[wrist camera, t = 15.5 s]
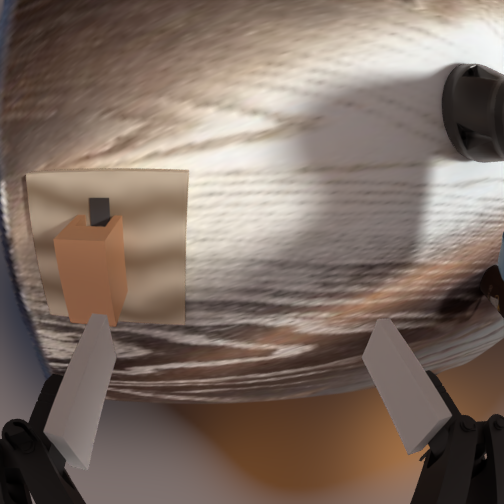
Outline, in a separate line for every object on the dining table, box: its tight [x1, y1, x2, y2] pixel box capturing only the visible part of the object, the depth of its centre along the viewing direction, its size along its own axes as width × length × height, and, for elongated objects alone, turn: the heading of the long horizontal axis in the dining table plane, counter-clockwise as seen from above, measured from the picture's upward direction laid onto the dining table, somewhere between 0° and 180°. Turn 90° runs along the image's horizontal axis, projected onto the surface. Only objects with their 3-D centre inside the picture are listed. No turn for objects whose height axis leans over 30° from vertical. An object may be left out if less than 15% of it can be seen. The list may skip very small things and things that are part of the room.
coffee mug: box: [480, 265, 504, 318], centre depth 45 cm, size 12×9×10 cm
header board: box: [26, 169, 189, 325], centre depth 33 cm, size 20×20×4 cm
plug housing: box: [53, 215, 128, 327], centre depth 31 cm, size 10×6×7 cm, turn 174°
